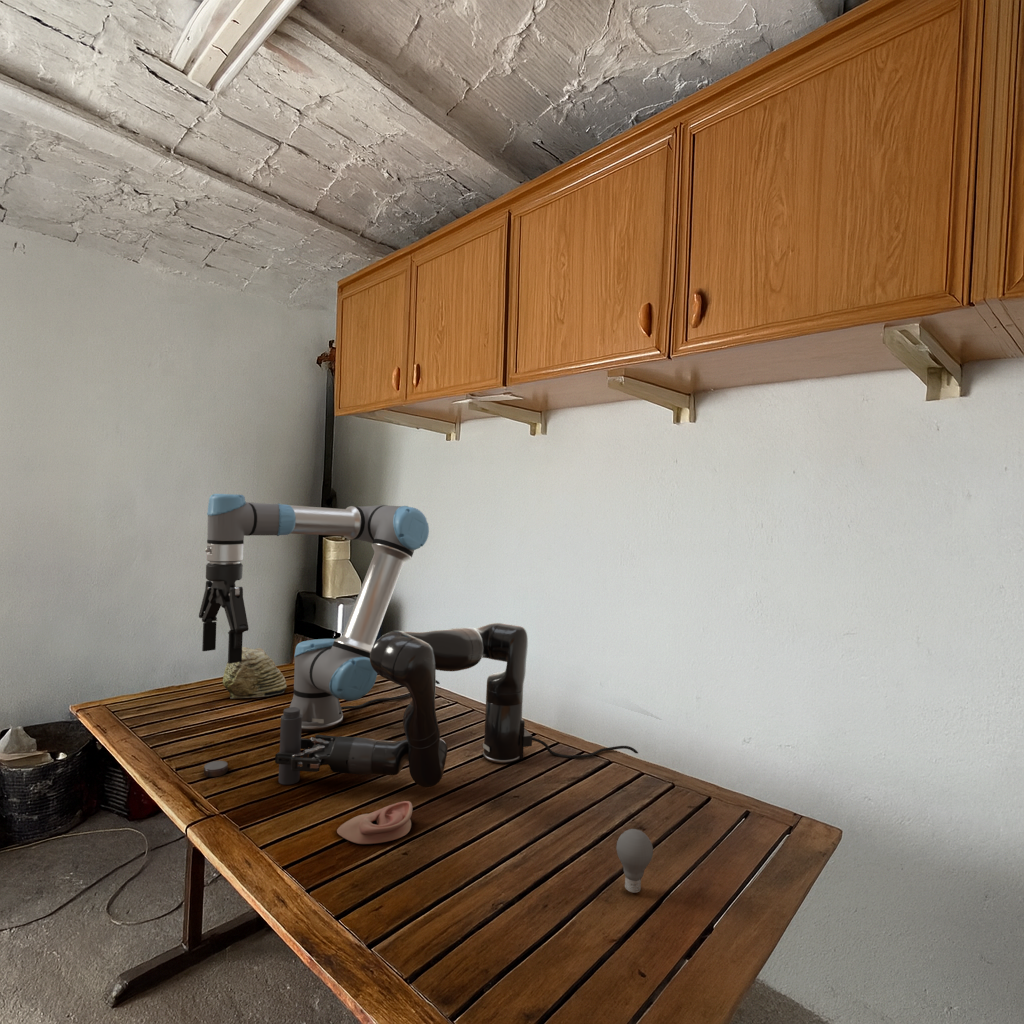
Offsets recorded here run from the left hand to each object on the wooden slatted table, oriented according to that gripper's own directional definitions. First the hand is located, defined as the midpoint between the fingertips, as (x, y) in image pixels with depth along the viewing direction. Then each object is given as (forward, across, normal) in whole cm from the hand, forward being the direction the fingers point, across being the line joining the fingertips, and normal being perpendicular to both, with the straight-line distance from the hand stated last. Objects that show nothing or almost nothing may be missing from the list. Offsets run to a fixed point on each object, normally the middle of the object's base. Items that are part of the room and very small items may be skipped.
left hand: (221, 656), depth 143 cm
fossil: (+26, -47, +31) cm, 62 cm away
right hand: (+20, +13, +9) cm, 25 cm away
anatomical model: (+26, +45, +11) cm, 53 cm away
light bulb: (+26, +90, +31) cm, 98 cm away
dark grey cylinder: (+26, +14, +10) cm, 32 cm away
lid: (+25, 0, 0) cm, 25 cm away
